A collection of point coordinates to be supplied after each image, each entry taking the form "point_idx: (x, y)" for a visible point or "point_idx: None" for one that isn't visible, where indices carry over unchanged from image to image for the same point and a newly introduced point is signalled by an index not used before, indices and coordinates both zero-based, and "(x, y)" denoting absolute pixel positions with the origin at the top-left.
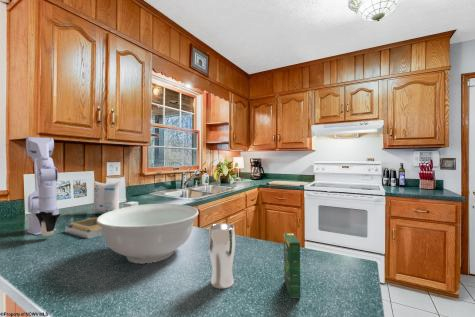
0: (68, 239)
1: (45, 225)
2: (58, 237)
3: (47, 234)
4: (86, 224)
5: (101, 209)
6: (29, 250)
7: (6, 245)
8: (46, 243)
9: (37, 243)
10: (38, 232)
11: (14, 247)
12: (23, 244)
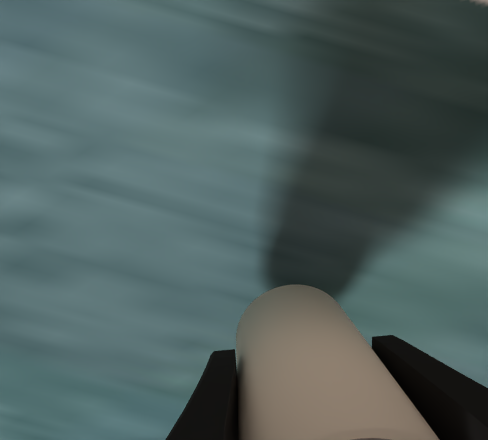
0: (117, 410)
1: (261, 409)
2: None
3: (240, 329)
4: None
5: None
6: (43, 97)
7: (443, 8)
8: (156, 263)
9: (232, 215)
10: None
11: (289, 37)
12: (319, 124)
